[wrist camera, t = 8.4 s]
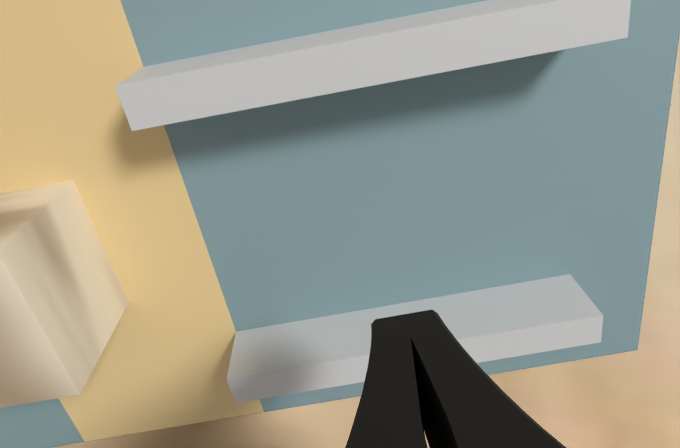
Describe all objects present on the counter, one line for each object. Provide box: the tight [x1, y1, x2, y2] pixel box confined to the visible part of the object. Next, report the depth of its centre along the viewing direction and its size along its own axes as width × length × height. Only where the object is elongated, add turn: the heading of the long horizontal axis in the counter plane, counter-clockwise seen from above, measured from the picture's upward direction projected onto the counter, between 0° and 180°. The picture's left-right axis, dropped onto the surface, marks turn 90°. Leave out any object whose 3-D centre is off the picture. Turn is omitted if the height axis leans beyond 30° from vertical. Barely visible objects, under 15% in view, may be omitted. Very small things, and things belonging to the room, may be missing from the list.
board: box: [0, 0, 680, 448], centre depth 18 cm, size 35×18×4 cm, turn 100°
